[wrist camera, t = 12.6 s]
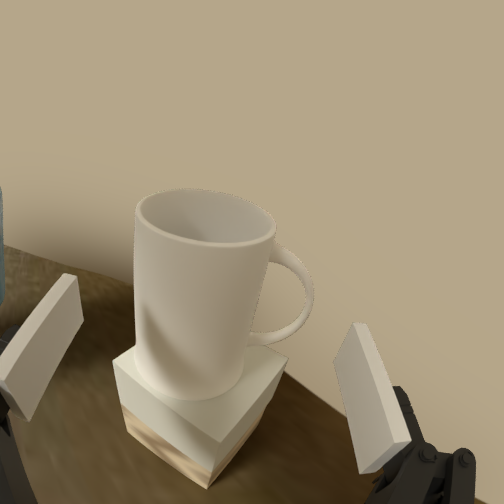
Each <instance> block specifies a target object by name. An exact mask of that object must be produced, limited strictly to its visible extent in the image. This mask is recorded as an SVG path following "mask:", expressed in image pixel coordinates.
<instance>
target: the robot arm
mask: <svg viewBox="0 0 504 504" xmlns="http://www.w3.org/2000/svg"><path fill="white" fill-rule="evenodd" d="M4 295H5V270H4V244H3V205H2V192H1V187H0V305H1V304H2V302H3V300H4ZM83 321H84V319H83V313H82V307H81V301H80V294H79V287H78V279H77V276H74V275H69V274H65V273H64V274H63V275H62V276H61V277H60V278H59V280H58V281H57V282H56V283H55V284H54V286H53V287H52V288H51V289H50V290H49V292H48V293H47V294H46V295H45V297H44V298H43V299H42V300H41V302H40V303H39V304H38V305H37V307H36V308H35V309H34V310H33V312H32V313H31V314H30V316H29V317H28V318H27V320H26V321H25V322H24V324H23V325H22V326H19V325H16V324H15V325H13V326H12V327H10V328H9V329H7V330H6V331H5V333H4V334H3V335H2V337H1V338H0V504H38V503H37V500H36V498H35V496H34V493H33V491H32V488H31V486H30V483H29V481H28V478H27V475H26V473H25V470H24V467H23V464H22V461H21V458H20V455H19V452H18V449H17V445H16V442H15V438H14V435H13V431H12V427H11V423H10V419H9V417H8V414H7V413H8V411H9V409H11V411H12V412H13V414H14V415H15V416H16V417H18V418H20V419H23V420H25V421H27V422H30V420H31V418H32V416H33V414H34V412H35V409H36V407H37V405H38V403H39V401H40V399H41V397H42V395H43V393H44V391H45V389H46V387H47V385H48V383H49V381H50V380H51V378H52V376H53V374H54V372H55V370H56V368H57V366H58V365H59V363H60V361H61V359H62V357H63V356H64V354H65V352H66V350H67V348H68V347H69V345H70V343H71V341H72V340H73V338H74V336H75V335H76V333H77V331H78V330H79V328H80V326H81V324H82V323H83ZM333 362H334V366H335V370H336V374H337V378H338V382H339V386H340V390H341V394H342V398H343V403H344V406H345V411H346V415H347V419H348V424H349V428H350V433H351V437H352V442H353V446H354V451H355V455H356V460H357V465H358V470H359V474H365V473H373V472H376V471H377V470H379V469H380V468H381V467H382V466H383V469H384V473H383V474H381V475H380V476H379V477H377V478H376V479H375V480H374V481H373V482H372V483H373V484H374V483H376V482H377V481H378V482H377V483H376V485H375V487H374V489H373V490H372V492H371V494H370V495H369V497H368V498H367V500H366V502H365V503H364V504H474V497H475V478H476V460H475V457H474V455H473V453H472V452H471V451H470V450H469V449H466V448H460V449H458V450H456V451H455V452H454V453H453V454H450V453H442V452H438V451H437V450H436V448H435V447H434V446H433V445H432V444H430V443H427V442H425V440H424V438H423V436H422V433H421V430H420V427H419V424H418V422H417V419H416V417H415V415H414V414H413V409H412V406H410V405H411V404H410V401H409V398H408V396H407V394H406V393H405V392H404V391H403V389H402V388H401V387H400V386H392V385H391V382H390V379H389V377H388V374H387V372H386V369H385V367H384V364H383V362H382V359H381V357H380V355H379V352H378V349H377V347H376V345H375V342H374V340H373V337H372V335H371V333H370V330H369V328H368V326H367V324H365V323H355V322H353V323H352V325H351V327H350V329H349V331H348V333H347V335H346V338H345V339H344V341H343V343H342V346H341V347H340V349H339V351H338V353H337V356H336V357H335V359H334V361H333Z"/></svg>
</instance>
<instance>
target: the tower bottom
mask: <svg viewBox="0 0 504 504" xmlns="http://www.w3.org/2000/svg"><path fill="white" fill-rule="evenodd" d="M266 406H267V405H266ZM121 407H122V411H123V415H124V419H125V423H126V427H127V431H128V432H129V433H130V434H131V435H132V436H134V437H135V438H136V439H137V440H138V441H140V442H141V443H142V444H143V445H145V446H146V447H147V448H148V449H150V450H151V451H152V452H154V453H155V454H156V455H157V456H159V457H160V458H161V459H163V460H164V461H166V462H167V463H168V464H170V465H171V466H172V467H174V468H175V469H177V470H178V471H180V472H181V473H182V474H184V475H185V476H187V477H188V478H190V479H191V480H193V481H194V482H196V483H197V484H199V485H201V486H202V487H204V488H205V489H207V488H208V487H209V486H210V485H211V484H212V482H213V481H214V480H215V479H216V478H217V477H218V475H219V474H220V473H221V472H222V470H223V469H224V468H225V467H226V466H227V464H228V463H229V462H230V461H231V459H232V458H233V457H234V456H235V454H236V453H237V452H238V450H239V449H240V448H241V447H242V445H243V444H244V443H245V441H246V440H247V439H248V437H249V436H250V435H251V433H252V432H253V431H254V429H255V428H256V427H257V425H258V424H259V421H260V419H261V417H262V415H263V412H264V410H265V408H266V407H265V408H264V409H263V411H262V412H261V413H260V415H259V416H258V417H257V418H256V420H255V421H254V422H253V424H252V425H251V426H250V427H249V429H248V430H247V431H246V432H245V434H244V435H243V436H242V437H241V438H240V440H239V441H238V442H237V443H236V445H235V446H234V447H233V448H232V449H231V451H230V452H229V453H228V454H227V455H226V457H225V458H224V459H223V460H222V461H221V462H220V464H219V465H218V466H217V467H216V468H215V469H214V470H213V472H210V471H208V470H207V469H205V468H204V467H202V466H201V465H199V464H198V463H196V462H195V461H193V460H192V459H191V458H189V457H188V456H186V455H185V454H183V453H182V452H181V451H179V450H178V449H177V448H175V447H174V446H173V445H171V444H170V443H168V442H167V441H166V440H165V439H163V438H162V437H161V436H159V435H158V434H157V433H156V432H154V431H153V430H152V429H151V428H149V427H148V426H147V425H146V424H144V423H143V422H142V421H141V420H140V419H138V418H137V417H136V416H135V415H134V414H133V413H131V412H130V411H129V410H128V409H127V408H126V407H125V406H123V405H122V404H121Z"/></svg>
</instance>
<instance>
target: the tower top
mask: <svg viewBox="0 0 504 504" xmlns="http://www.w3.org/2000/svg"><path fill="white" fill-rule="evenodd" d="M134 349H135V346H133V347H132V348H131V349H129V350H128V351H126V352H125V353H123V354H122V355H120V356H119V357H117V358H116V359H114V360H113V367H114V373H115V378H116V383H117V388H118V393H119V398H120V402H121V404H122V405H123V406H125V407H126V408H127V409H128V410H129V411H130V412H131V413H133V414H134V415H135V416H136V417H137V418H138V419H140V420H141V421H142V422H143V423H144V424H146V425H147V426H148V427H149V428H151V429H152V430H153V431H154V432H156V433H157V434H158V435H159V436H161V437H162V438H163V439H165V440H166V441H167V442H168V443H170V444H171V445H173V446H174V447H175V448H177V449H178V450H179V451H181V452H182V453H183V454H185V455H186V456H188V457H189V458H191V459H192V460H193V461H195V462H196V463H198V464H199V465H201V466H202V467H204V468H205V469H207V470H208V471H210V472H213V470H214V469H215V468H216V467H217V466H218V465H219V464H220V462H221V461H222V460H223V459H224V458H225V457H226V455H227V454H228V453H229V452H230V451H231V449H232V448H233V447H234V446H235V445H236V443H237V442H238V441H239V440H240V438H241V437H242V436H243V435H244V434H245V432H246V431H247V430H248V429H249V427H250V426H251V425H252V424H253V422H254V421H255V420H256V418H257V417H258V416H259V415H260V413H261V412H262V411H263V409H264V408H265V407H266V405H267V404H268V403H269V401H270V400H271V399H272V397H273V394H274V392H275V390H276V388H277V385H278V383H279V381H280V378H281V376H282V373H283V371H284V368H285V366H286V364H287V361H288V358H287V357H285V356H283V355H281V354H280V353H278V352H276V351H274V350H272V349H270V348H268V347H267V346H265V345H261V346H249V347H246V349H245V353H244V368H243V372H242V374H241V377H240V378H239V380H238V382H237V383H236V384H235V385H234V386H233V387H232V388H231V389H230V390H228V391H227V392H225V393H224V394H222V395H219V396H217V397H214V398H211V399H207V400H200V401H187V400H180V399H176V398H172V397H169V396H167V395H164V394H162V393H160V392H159V391H157V390H155V389H154V388H152V387H151V386H150V385H149V384H148V383H147V382H146V381H145V380H144V379H143V378H142V376H141V375H140V373H139V372H138V370H137V367H136V364H135V360H134Z"/></svg>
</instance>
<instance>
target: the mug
mask: <svg viewBox="0 0 504 504" xmlns="http://www.w3.org/2000/svg"><path fill="white" fill-rule="evenodd" d="M276 228H277V227H276V222H275V220H274V218H273V217H272V216H271V215H270V214H269V213H268V212H267V211H265V210H264V209H263V208H261V207H259V206H258V205H255V204H254V203H252V202H250V201H247V200H245V199H242V198H239V197H236V196H233V195H229V194H225V193H221V192H215V191H209V190H201V189H173V190H166V191H160V192H156V193H153V194H150V195H148V196H146V197H144V198H143V199H142V200H140V201H139V203H138V204H137V206H136V210H135V229H134V306H135V329H136V345H135V349H134V360H135V364H136V367H137V370H138V372H139V373H140V375H141V376H142V378H143V379H144V380H145V381H146V382H147V383H148V384H149V385H150V386H151V387H152V388H154V389H155V390H157V391H159V392H160V393H162V394H164V395H167V396H169V397H172V398H176V399H180V400H187V401H200V400H207V399H211V398H214V397H217V396H219V395H222V394H224V393H225V392H227V391H228V390H230V389H231V388H232V387H233V386H234V385H235V384H236V383H237V382H238V380H239V378H240V377H241V374H242V372H243V368H244V353H245V349H246V347H249V346H261V345H268V344H272V343H275V342H278V341H281V340H283V339H285V338H287V337H289V336H291V335H292V334H293V333H295V332H296V331H297V330H298V329H299V328H300V327H301V326H302V325H303V324H304V323H305V321H306V319H307V318H308V316H309V314H310V312H311V309H312V306H313V301H314V289H313V283H312V280H311V277H310V274H309V272H308V270H307V269H306V267H305V266H304V264H303V263H302V262H301V261H300V260H299V259H298V257H297V256H295V255H294V254H293V253H292V252H290V251H289V250H287V249H286V248H284V247H283V246H281V245H279V244H278V243H276V242H275V241H274V238H275V233H276ZM268 262H274V263H278V264H281V265H284V266H285V267H287V268H289V269H290V270H291V271H293V272H294V273H295V274H296V275H297V276H298V277H299V279H300V280H301V282H302V283H303V286H304V288H305V292H306V302H305V306H304V308H303V311H302V312H301V314H300V315H299V316H298V317H297V319H296V320H295V321H294V322H292V323H291V324H289V325H288V326H286V327H284V328H282V329H279V330H277V331H273V332H267V333H257V332H253V331H250V330H251V326H252V322H253V318H254V315H255V311H256V307H257V303H258V300H259V296H260V292H261V288H262V284H263V280H264V277H265V273H266V269H267V265H268Z"/></svg>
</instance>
